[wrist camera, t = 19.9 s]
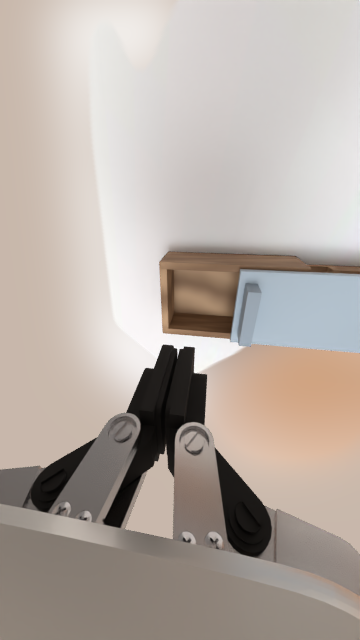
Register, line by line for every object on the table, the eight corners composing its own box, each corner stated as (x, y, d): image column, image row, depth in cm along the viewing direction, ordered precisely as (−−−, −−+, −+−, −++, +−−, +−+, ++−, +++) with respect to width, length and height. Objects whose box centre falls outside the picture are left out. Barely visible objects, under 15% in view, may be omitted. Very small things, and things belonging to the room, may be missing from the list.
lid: (240, 269, 28) (243, 279, 25) (402, 276, 26) (430, 288, 22) (230, 338, 34) (231, 354, 30) (362, 349, 31) (380, 367, 28)
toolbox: (168, 251, 35) (159, 261, 30) (391, 259, 31) (429, 272, 25) (170, 314, 41) (162, 333, 36) (356, 328, 37) (381, 351, 31)
